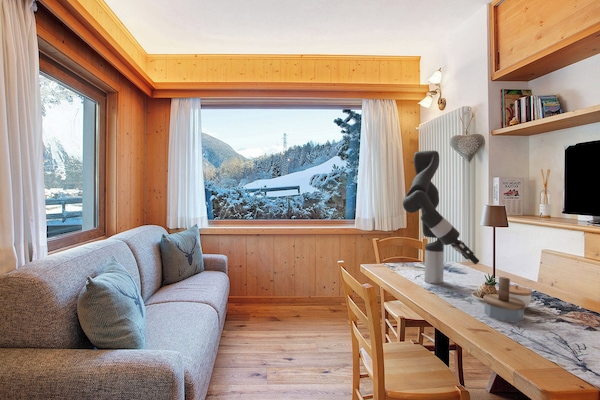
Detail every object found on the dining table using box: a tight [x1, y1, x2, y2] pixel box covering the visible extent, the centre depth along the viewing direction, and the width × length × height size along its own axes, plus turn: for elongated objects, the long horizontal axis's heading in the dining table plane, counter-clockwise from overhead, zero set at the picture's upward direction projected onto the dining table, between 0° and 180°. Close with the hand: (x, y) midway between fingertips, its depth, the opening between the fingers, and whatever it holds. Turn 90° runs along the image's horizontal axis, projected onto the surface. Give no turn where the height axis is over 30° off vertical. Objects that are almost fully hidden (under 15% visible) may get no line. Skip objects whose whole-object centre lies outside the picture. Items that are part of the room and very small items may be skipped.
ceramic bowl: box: [484, 302, 525, 323], centre depth 125 cm, size 12×12×5 cm
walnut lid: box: [482, 276, 526, 310], centre depth 125 cm, size 14×14×10 cm
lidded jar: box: [509, 284, 533, 308], centre depth 135 cm, size 11×11×9 cm
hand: (472, 260), depth 126 cm, fingers open, 8 cm apart
